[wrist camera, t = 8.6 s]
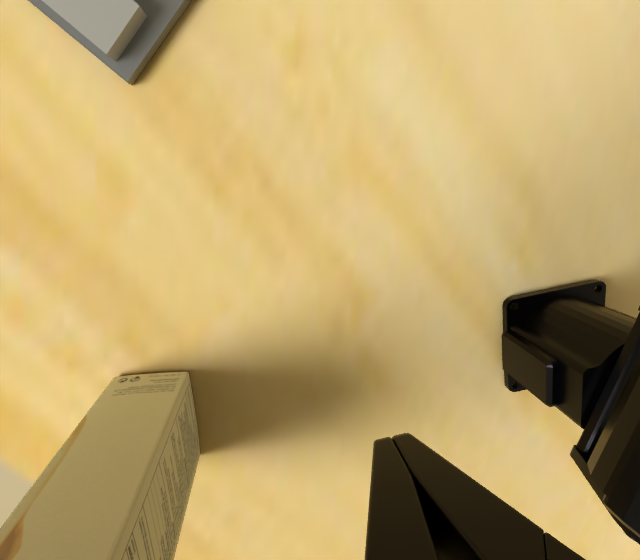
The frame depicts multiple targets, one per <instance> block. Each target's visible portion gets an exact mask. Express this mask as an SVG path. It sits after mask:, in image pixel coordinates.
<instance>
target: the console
mask: <svg viewBox="0 0 640 560" xmlns="http://www.w3.org/2000/svg"><path fill="white" fill-rule="evenodd" d="M28 1H30V2H31V3H32V4H33V5H34V6H36V7H37V8H38V9H39V10H40V11H42V12H43V13H44V14H45V15H46V16H48V17H49V18H50V19H51V20H53V21H54V22H55V23H56V24H57V25H59V26H60V27H61V28H62V29H63V30H65V31H66V32H67V33H68V34H69V35H71V36H72V37H73V38H74V39H75V40H77V41H78V42H79V43H80V44H82V45H83V46H84V47H85V48H86V49H88V50H89V51H90V52H91V53H92V54H94V55H95V56H96V57H97V58H98V59H100V60H101V61H102V62H103V63H104V64H106V65H107V66H108V67H109V68H111V69H112V70H113V71H114V72H115V73H117V74H118V75H119V76H120V77H121V78H123V79H124V80H125V81H126V82H128V83H129V84H131V85H133V84H134V82H135V81H136V79H137V78H138V76H139V75H140V74H141V72H142V71H143V69H144V68H145V66H146V65H147V64H148V62H149V61H150V59H151V58H152V56H153V55H154V54H155V52H156V51H157V49H158V48H159V46H160V45H161V43H162V42H163V41H164V39H165V38H166V36H167V35H168V33H169V32H170V31H171V29H172V28H173V26H174V25H175V23H176V22H177V21H178V19H179V18H180V16H181V15H182V13H183V12H184V11H185V9H186V8H187V6H188V5H189V3H190V2H191V1H192V0H28Z"/></svg>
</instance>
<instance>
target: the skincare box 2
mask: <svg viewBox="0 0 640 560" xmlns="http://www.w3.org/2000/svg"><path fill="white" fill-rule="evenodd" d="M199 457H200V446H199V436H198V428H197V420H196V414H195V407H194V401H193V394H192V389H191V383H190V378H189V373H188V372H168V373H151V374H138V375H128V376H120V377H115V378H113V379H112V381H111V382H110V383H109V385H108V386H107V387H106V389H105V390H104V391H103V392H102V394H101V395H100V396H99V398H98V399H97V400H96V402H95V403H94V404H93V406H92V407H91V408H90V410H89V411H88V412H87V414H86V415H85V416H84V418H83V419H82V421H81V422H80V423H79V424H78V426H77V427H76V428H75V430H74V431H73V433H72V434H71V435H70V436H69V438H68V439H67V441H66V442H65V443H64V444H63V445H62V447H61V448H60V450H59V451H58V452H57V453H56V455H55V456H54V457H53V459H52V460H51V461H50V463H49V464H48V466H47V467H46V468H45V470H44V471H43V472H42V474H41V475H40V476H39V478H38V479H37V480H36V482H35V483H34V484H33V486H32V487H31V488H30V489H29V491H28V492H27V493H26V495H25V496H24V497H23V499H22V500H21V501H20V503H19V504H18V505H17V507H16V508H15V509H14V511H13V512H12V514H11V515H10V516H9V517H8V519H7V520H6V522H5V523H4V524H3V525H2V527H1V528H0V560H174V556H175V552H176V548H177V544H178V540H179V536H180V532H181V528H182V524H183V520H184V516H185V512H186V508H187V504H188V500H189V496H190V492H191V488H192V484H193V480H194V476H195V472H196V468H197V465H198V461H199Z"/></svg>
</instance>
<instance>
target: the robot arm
mask: <svg viewBox="0 0 640 560" xmlns="http://www.w3.org/2000/svg"><path fill="white" fill-rule="evenodd" d="M596 286H597V287H596ZM595 287H596V289H595ZM605 293H606V285H605V283H604V282H602V281H599V280H590V281H585V282H580V283H575V284H570V285H566V286H561V287H556V288H551V289H546V290H542V291H537V292H532V293H527V294H522V295H518V296H513V297H509V298H507V299H506V300H505V301H504V302H503V334H502V362H503V370H504V380H505V386H506V387H507V388H508V389H509V390H510V391H512V392H517V391H521V390H526V389H527V390H529V391H530V392H531V393H532V394H533V395H535V396H536V397H537V398H538V399H539V400H541V401H542V402H543V403H544V404H546V405H547V406H549V407H553V406H555V407H557V408H558V409H559V410H560V411H562V412H563V413H564V414H565V415H567V416H568V417H569V418H570V419H571V420H573V421H574V422H575V423H576V424H578V425H579V426H580V427H581V428H583V429H584V431H583V433H582V435H581V437H580V439H579V441H578V443H577V445H574V446H573V449H572V451H571V453H570V455H571V457H572V458H573V460H574V461H575V463H576V464H577V466H578V467H579V469H580V470H581V472H582V473H583V475H584V476H585V478H586V479H587V481H588V482H589V483H590V485H591V486H592V488H593V489H594V491H595V492H596V494H597V495H598V497H599V498H600V500H601V501H602V503H603V504H604V506H605V507H606V509H607V510H608V511H609V513H610V514H611V516H612V517H613V519H614V520H615V521H616V522H617V524H618V525H619V526H620V527H621V528H622V529H623V531H624V532H625V533H626V535H627V536H629V537H630V538H631V539H633V540H634V541H636V542H637V543H638V544H640V312H639V315H638V317H637V319H636V318H634V317H631V316H629V315H626V314H623V313H621V312H618V311H616V310H613V309H610V308H608V307H605ZM513 303H514V306H513V307H512V308H510V307H511V305H512V304H513ZM638 310H639V311H640V306H639V309H638ZM514 382H515V383H514ZM513 383H514V384H513ZM512 384H513V385H512ZM365 560H585V559H584V558H582V557H581V556H580V555H578V554H577V553H575V552H574V551H572V550H571V549H569V548H568V547H567V546H565V545H564V544H562V543H561V542H560V541H558V540H557V539H555V538H554V537H553V536H551V535H550V534H549V533H544V531H543V529H541V528H540V527H539V526H537V525H536V524H534V523H533V522H532V521H530V520H529V519H527V518H526V517H525V516H523V515H522V514H521V513H519V512H518V511H516V510H515V509H514V508H512V507H511V506H509V505H508V504H507V503H505V502H504V501H503V500H501V499H500V498H498V497H497V496H496V495H494V494H493V493H491V492H490V491H489V490H487V489H486V488H485V487H483V486H482V485H480V484H479V483H478V482H476V481H475V480H473V479H472V478H471V477H469V476H468V475H467V474H465V473H464V472H462V471H461V470H460V469H458V468H457V467H455V466H454V465H453V464H451V463H450V462H449V461H447V460H446V459H444V458H443V457H442V456H440V455H439V454H437V453H436V452H435V451H433V450H432V449H431V448H429V447H428V446H426V445H425V444H424V443H422V442H421V441H419V440H418V439H417V438H415V437H414V436H413V435H411V434H409V433H404V434H399V435H395V436H393V437H392V439H391V438H390V437H386V438H382V439H378V440H375V441H374V447H373V460H372V473H371V486H370V499H369V512H368V524H367V537H366V550H365Z"/></svg>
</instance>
